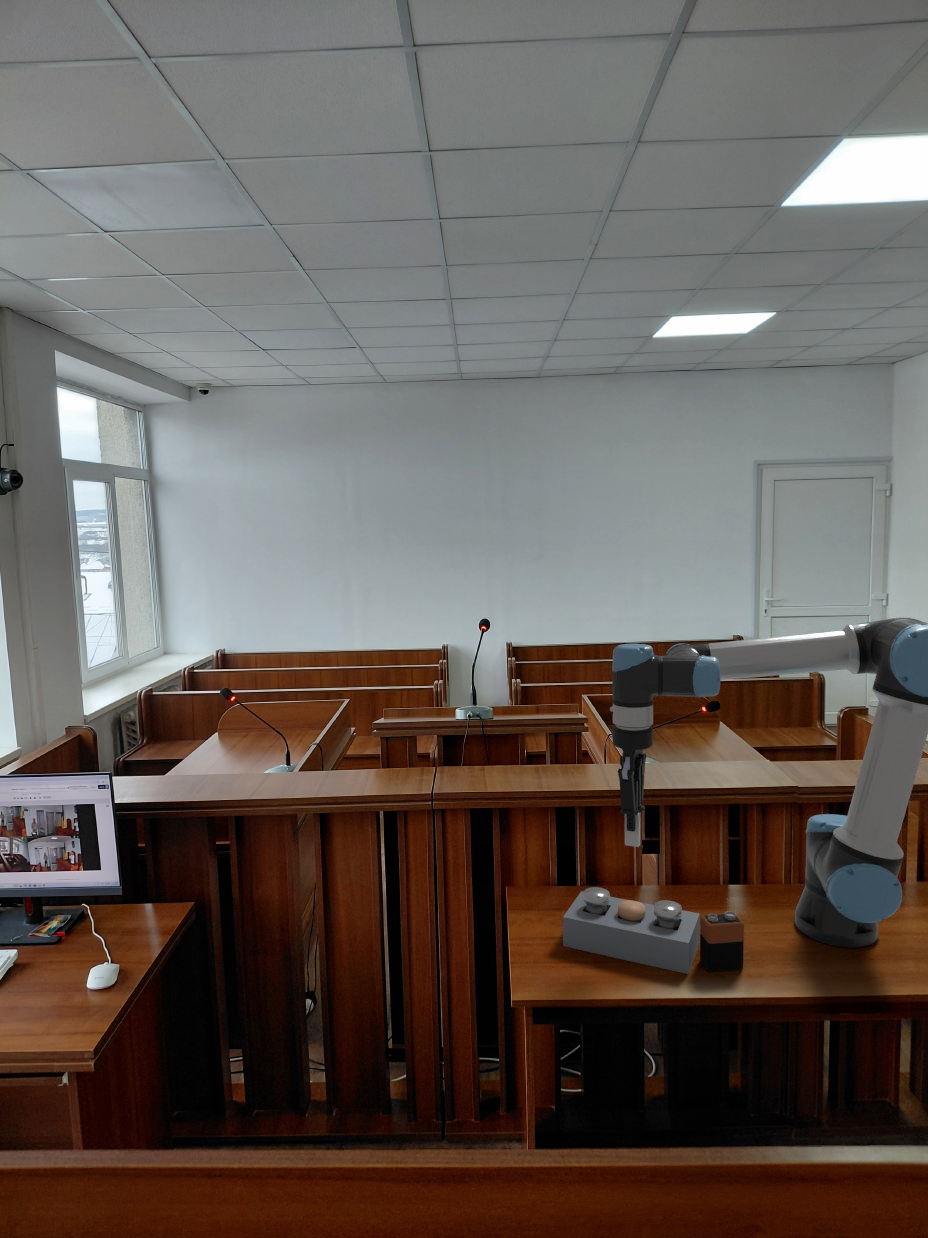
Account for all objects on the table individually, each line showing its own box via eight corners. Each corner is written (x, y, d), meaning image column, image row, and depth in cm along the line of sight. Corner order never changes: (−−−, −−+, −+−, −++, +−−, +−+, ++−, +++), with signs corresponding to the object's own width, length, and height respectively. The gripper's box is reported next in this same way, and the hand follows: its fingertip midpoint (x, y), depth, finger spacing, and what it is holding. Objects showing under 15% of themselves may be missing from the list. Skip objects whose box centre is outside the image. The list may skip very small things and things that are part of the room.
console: (699, 942, 152) (699, 913, 152) (688, 974, 142) (688, 943, 141) (581, 918, 163) (581, 891, 162) (563, 946, 152) (562, 917, 152)
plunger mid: (647, 934, 153) (647, 903, 153) (641, 947, 149) (641, 915, 148) (621, 929, 156) (621, 898, 155) (614, 941, 151) (614, 910, 150)
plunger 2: (683, 935, 150) (684, 903, 149) (678, 948, 146) (679, 915, 145) (656, 930, 152) (657, 898, 152) (650, 942, 148) (651, 910, 147)
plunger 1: (612, 921, 156) (612, 890, 156) (605, 933, 152) (605, 901, 151) (587, 916, 159) (587, 885, 158) (580, 927, 154) (579, 896, 153)
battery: (744, 970, 143) (745, 918, 142) (708, 973, 142) (709, 921, 141) (733, 957, 147) (734, 907, 146) (698, 960, 146) (699, 910, 145)
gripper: (621, 716, 155) (621, 830, 158) (603, 732, 143) (604, 854, 146) (659, 719, 152) (659, 835, 154) (644, 735, 140) (644, 861, 143)
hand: (632, 844), depth 150 cm, fingers closed
